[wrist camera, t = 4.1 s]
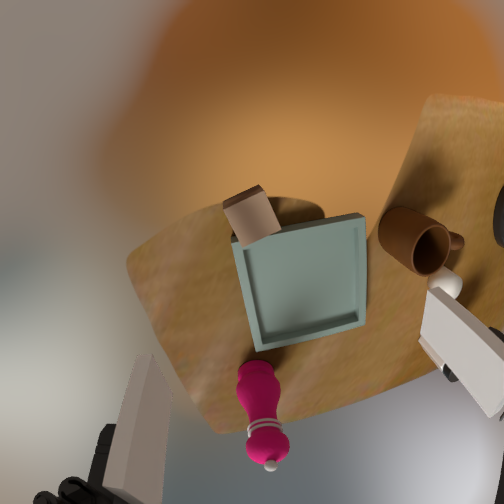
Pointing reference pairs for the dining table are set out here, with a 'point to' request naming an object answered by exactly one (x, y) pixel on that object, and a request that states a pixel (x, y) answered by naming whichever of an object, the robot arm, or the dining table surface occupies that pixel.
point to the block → (251, 215)
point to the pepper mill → (262, 413)
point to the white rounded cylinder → (446, 281)
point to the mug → (417, 240)
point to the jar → (438, 360)
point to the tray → (304, 280)
